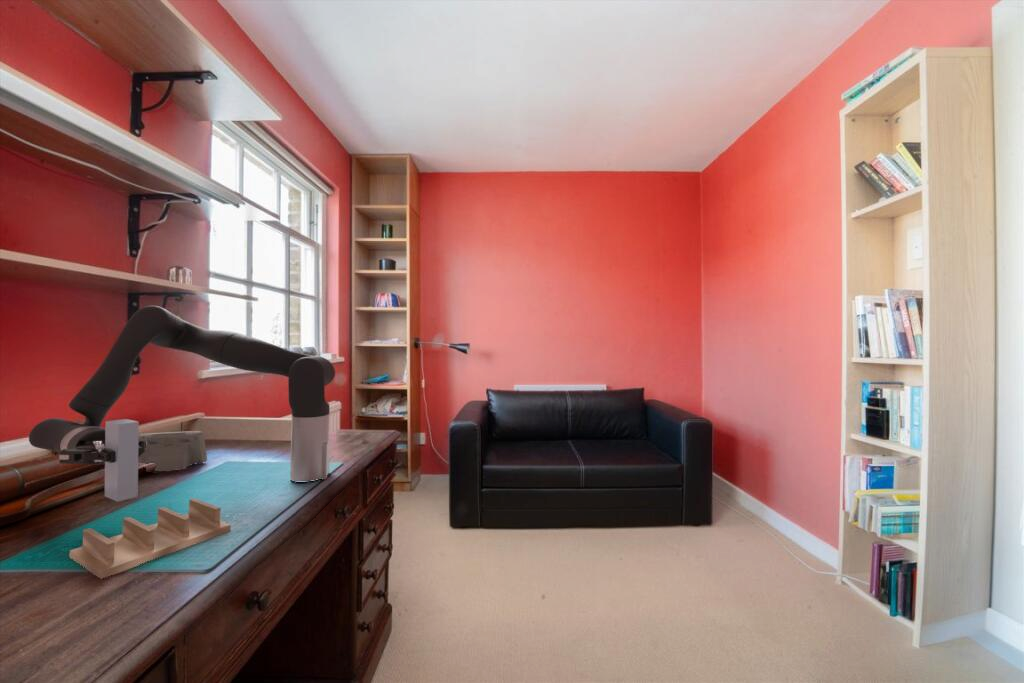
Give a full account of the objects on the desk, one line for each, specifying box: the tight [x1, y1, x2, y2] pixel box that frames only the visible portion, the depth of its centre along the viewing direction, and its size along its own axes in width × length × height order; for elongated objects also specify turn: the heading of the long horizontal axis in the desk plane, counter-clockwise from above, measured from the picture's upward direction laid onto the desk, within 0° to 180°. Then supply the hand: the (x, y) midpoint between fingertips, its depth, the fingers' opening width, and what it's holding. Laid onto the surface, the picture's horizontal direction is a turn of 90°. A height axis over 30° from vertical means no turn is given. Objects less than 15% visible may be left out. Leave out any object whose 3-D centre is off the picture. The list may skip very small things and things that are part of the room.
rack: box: [69, 497, 231, 579], centre depth 70 cm, size 18×13×4 cm
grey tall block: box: [104, 418, 140, 503], centre depth 77 cm, size 3×6×15 cm, turn 63°
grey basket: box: [138, 430, 208, 472], centre depth 112 cm, size 16×9×11 cm, turn 99°
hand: (125, 454), depth 77 cm, fingers closed on grey tall block, 3 cm apart
